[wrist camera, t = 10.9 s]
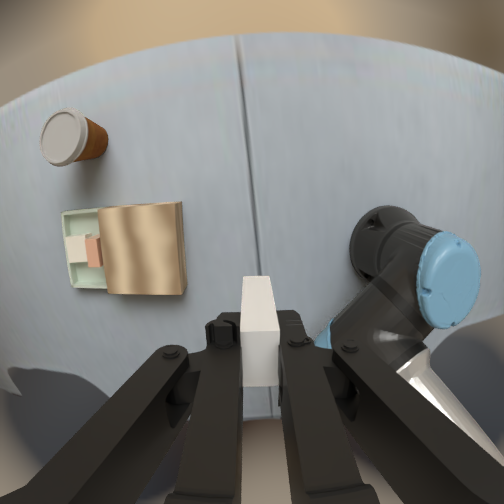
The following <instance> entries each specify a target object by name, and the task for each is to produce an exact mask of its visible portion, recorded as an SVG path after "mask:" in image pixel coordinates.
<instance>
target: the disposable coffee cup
mask: <svg viewBox="0 0 504 504" xmlns="http://www.w3.org/2000/svg"><path fill="white" fill-rule="evenodd" d="M107 145H108V135H107V132H106V130H105V129H104V128H102V127H101V126H99V125H97V124H96V123H94V122H92V121H91V120H89V119H88V118H86V117H84V115H83V114H82V113H81V112H80V111H79V110H77V109H75V108H64V109H62V110H59V111H56V112H55V113H53V114H52V115H51V116H50V117H49V118H48V119H47V120H46V122H45V124H44V126H43V128H42V130H41V134H40V150H41V153H42V155H43V157H44V158H45V159H46V160H47V161H48V162H49V163H50V164H52V165H54V166H66V165H68V164H70V163H72V162H76V161H82V160H87V159H93V158H97V157H99V156H101V155H102V154H103V152H104V151H105V150H106V147H107Z"/></svg>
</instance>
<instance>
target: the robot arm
mask: <svg viewBox="0 0 504 504" xmlns="http://www.w3.org/2000/svg"><path fill="white" fill-rule="evenodd" d="M350 256H351V261H352V264H353V266H354V268H355V270H356V271H357V272H358V274H359V275H360V276H361V277H362V278H363V279H365V280H366V281H367V282H368V283H369V284H368V285H367V286H366V287H365V288H364V289H363V290H362V291H361V292H360V293H359V294H358V295H357V296H356V297H355V298H354V299H353V300H352V301H351V302H350V303H349V304H348V305H347V306H346V307H345V308H344V309H343V310H342V311H341V312H340V313H339V314H338V315H337V316H336V317H335V318H333V319H331V321H330V322H329V323H328V326H327V327H326V328H325V329H324V330H323V331H322V332H321V333H320V334H319V335H318V336H317V338H316V339H315V342H314V341H313V340H312V339H311V338H310V337H308V336H307V335H306V332H305V329H304V326H303V323H302V320H301V318H300V315H299V314H298V313H297V312H296V311H294V310H280V311H276V308H275V303H274V298H273V292H272V287H271V282H270V277H269V276H243V289H242V305H241V312H224V313H221V314H220V315H219V316H218V317H217V319H216V320H212V321H210V322H209V323H207V324H206V326H205V330H206V340H207V347H206V349H205V350H203V351H200V352H196V353H190V354H188V352H187V349H186V348H184V347H182V346H179V345H166V346H163V347H161V348H159V349H158V350H156V351H155V352H154V353H153V354H152V355H151V356H150V357H149V358H148V359H147V360H146V361H145V363H144V364H143V365H142V366H141V367H140V368H139V369H138V370H137V371H136V372H135V373H134V374H133V375H132V376H131V377H130V378H129V379H128V380H127V381H126V382H125V383H124V384H123V385H122V386H121V387H120V388H119V389H118V390H117V391H116V392H115V394H114V395H113V396H112V397H111V398H110V399H109V400H108V401H107V402H106V403H105V404H104V405H103V406H102V407H101V408H100V409H99V410H98V411H97V412H96V413H95V414H94V415H93V416H92V417H91V418H90V420H88V421H87V422H86V424H85V425H84V426H83V427H82V428H81V429H80V430H79V431H78V432H77V433H76V434H75V435H74V436H73V437H72V438H71V439H70V440H69V441H68V442H67V443H66V444H65V445H64V446H63V447H62V448H61V450H59V451H58V452H57V454H56V455H55V456H54V457H53V458H52V459H51V460H50V461H49V462H48V463H47V464H46V465H45V466H44V467H43V468H42V469H41V470H40V471H39V472H38V473H37V474H36V475H35V476H34V477H33V478H32V479H31V480H30V481H29V483H28V484H27V485H26V486H24V487H22V488H20V489H17V490H15V491H13V492H11V493H9V494H7V495H4V496H2V497H0V504H135V502H136V501H137V499H138V498H139V496H140V495H141V493H142V492H143V490H144V488H145V487H146V485H147V484H148V482H149V480H150V479H151V477H152V476H153V474H154V473H155V471H156V469H157V468H158V466H159V465H160V463H161V461H162V460H163V458H164V457H165V455H166V454H167V452H168V450H169V449H170V447H171V445H172V444H173V442H174V441H175V439H176V437H177V436H178V434H179V432H180V431H181V429H182V428H183V426H184V424H185V423H186V421H187V419H188V418H189V416H190V414H191V416H190V421H189V426H188V430H187V435H186V439H185V443H184V448H183V453H182V458H181V463H180V467H179V472H178V477H177V481H176V486H175V490H174V492H173V493H170V494H168V495H167V497H166V499H165V502H164V504H241V480H242V479H241V478H242V426H243V425H242V424H243V387H260V386H278V382H279V399H278V406H280V408H281V416H282V424H283V432H284V440H285V449H286V457H287V465H288V473H289V483H290V492H291V500H292V504H380V502H379V500H378V497H377V494H376V492H375V490H374V488H373V487H372V486H371V485H370V484H364V483H363V481H362V479H361V476H360V473H359V470H358V467H357V464H356V461H355V458H354V455H353V452H352V449H351V446H350V443H349V440H348V437H347V434H346V431H345V428H344V426H343V424H344V425H345V426H346V428H347V429H348V431H349V432H350V433H351V435H352V436H353V437H354V439H355V440H356V441H357V443H358V444H359V445H360V447H361V448H362V450H363V451H364V452H365V454H366V455H367V456H368V458H369V459H370V460H371V461H372V463H373V464H374V465H375V467H376V468H377V469H378V471H379V472H380V473H381V475H382V476H383V477H384V479H385V480H386V481H387V482H388V484H389V485H390V486H391V488H392V489H393V490H394V492H395V493H396V494H397V495H398V497H399V498H400V499H401V500H402V502H403V503H404V504H504V457H503V456H502V455H501V453H500V452H499V451H498V449H497V448H496V447H495V445H494V444H493V443H492V441H491V440H490V439H489V438H488V436H487V435H486V434H485V432H484V431H483V430H482V429H481V427H480V426H479V425H478V424H477V423H476V421H475V420H474V419H473V418H472V416H471V415H470V414H469V413H468V411H467V410H466V409H465V408H464V407H463V406H462V404H461V403H460V402H459V401H458V399H457V398H456V397H455V396H454V395H453V394H452V392H451V391H450V390H449V389H448V388H447V386H446V385H445V384H444V383H443V382H442V381H441V379H440V378H439V377H438V376H437V375H436V374H435V373H434V371H433V370H432V369H431V367H430V349H429V348H428V347H427V346H426V345H425V344H424V343H423V340H424V339H425V338H426V337H427V336H428V335H429V334H430V332H431V331H432V330H433V329H434V328H438V329H448V328H450V326H456V325H457V324H459V323H460V322H461V321H462V320H463V319H464V318H465V317H466V316H467V315H468V313H469V312H470V311H471V309H472V307H473V305H474V303H475V301H476V299H477V296H478V292H479V288H480V277H481V268H480V263H479V259H478V256H477V254H476V252H475V250H474V249H473V247H472V246H471V245H470V244H469V243H468V242H467V241H465V240H463V239H461V238H459V237H457V236H456V235H455V234H452V233H451V232H447V231H441V230H438V229H435V228H432V227H429V226H425V225H422V224H420V223H419V222H418V220H417V219H416V218H415V217H414V216H413V215H412V214H411V213H410V212H408V211H407V210H405V209H403V208H399V207H395V206H389V205H388V206H380V207H377V208H374V209H372V210H371V211H369V212H368V213H366V214H365V215H364V216H363V217H362V218H361V219H360V220H359V222H358V223H357V225H356V227H355V229H354V231H353V233H352V237H351V241H350Z"/></svg>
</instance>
